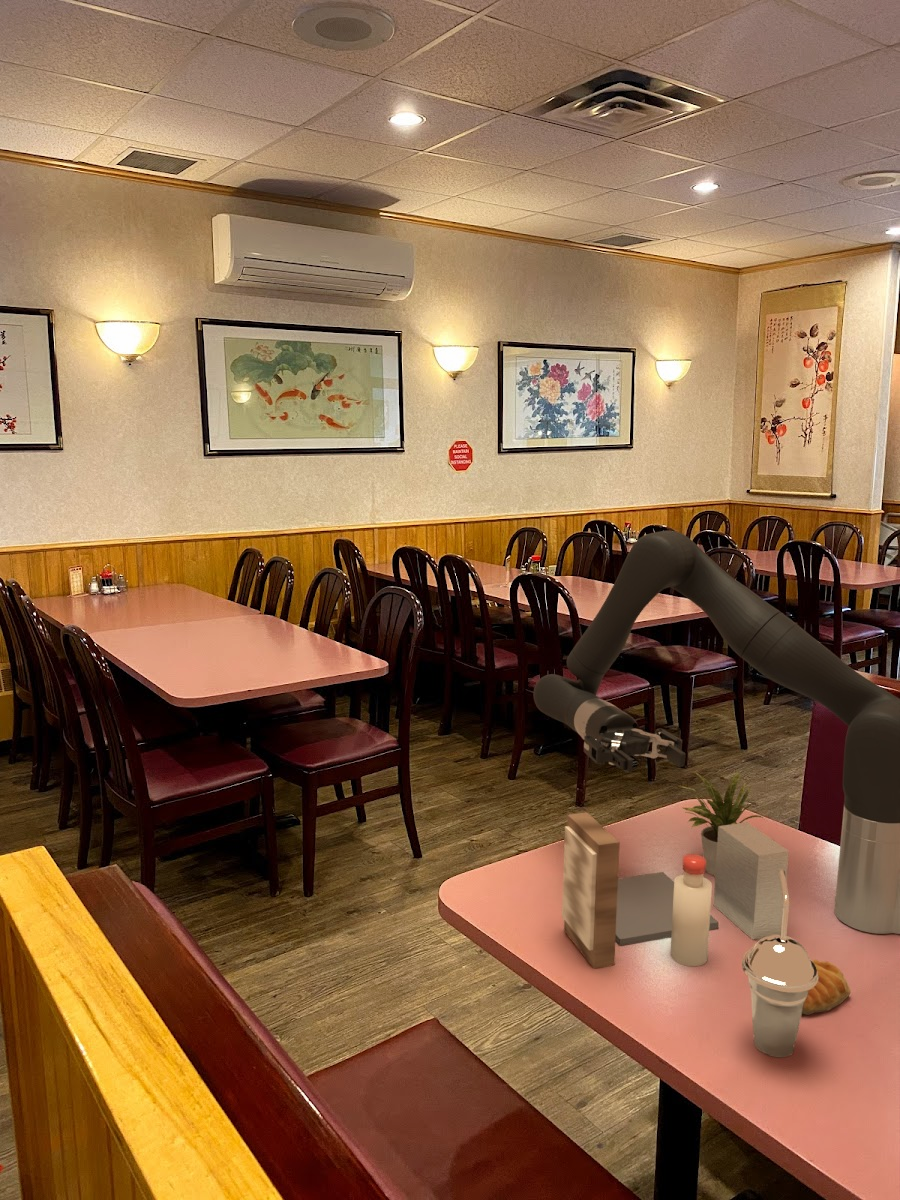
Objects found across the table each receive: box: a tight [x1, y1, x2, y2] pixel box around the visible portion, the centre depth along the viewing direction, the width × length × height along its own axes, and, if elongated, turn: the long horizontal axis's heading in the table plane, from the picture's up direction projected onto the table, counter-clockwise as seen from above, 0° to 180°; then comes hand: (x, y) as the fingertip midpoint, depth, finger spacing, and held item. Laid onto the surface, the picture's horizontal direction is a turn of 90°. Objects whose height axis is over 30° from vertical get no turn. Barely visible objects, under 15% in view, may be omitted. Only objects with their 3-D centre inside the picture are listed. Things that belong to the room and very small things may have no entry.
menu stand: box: [561, 812, 620, 969], centre depth 127 cm, size 10×4×18 cm, turn 17°
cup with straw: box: [741, 870, 818, 1058], centre depth 107 cm, size 8×9×20 cm
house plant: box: [678, 770, 764, 877], centre depth 152 cm, size 14×14×16 cm
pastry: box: [802, 959, 852, 1016], centre depth 118 cm, size 9×7×4 cm
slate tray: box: [615, 871, 719, 946], centre depth 139 cm, size 16×16×1 cm
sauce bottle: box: [669, 853, 713, 968], centre depth 126 cm, size 5×5×14 cm
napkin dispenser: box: [713, 821, 790, 940], centre depth 135 cm, size 10×5×13 cm, turn 17°
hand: (656, 763), depth 133 cm, fingers open, 8 cm apart
